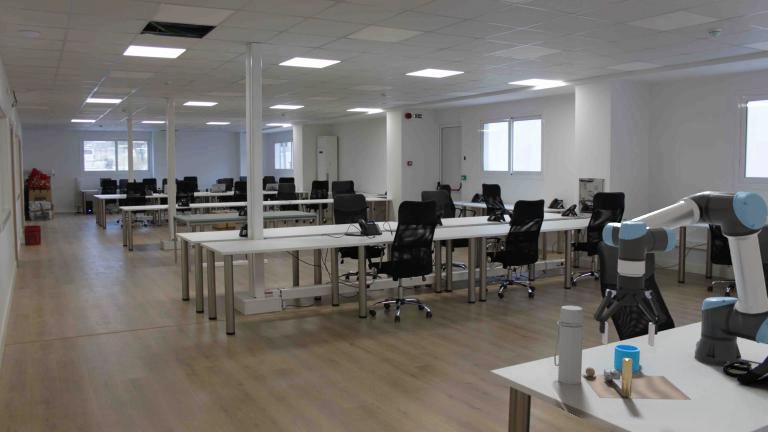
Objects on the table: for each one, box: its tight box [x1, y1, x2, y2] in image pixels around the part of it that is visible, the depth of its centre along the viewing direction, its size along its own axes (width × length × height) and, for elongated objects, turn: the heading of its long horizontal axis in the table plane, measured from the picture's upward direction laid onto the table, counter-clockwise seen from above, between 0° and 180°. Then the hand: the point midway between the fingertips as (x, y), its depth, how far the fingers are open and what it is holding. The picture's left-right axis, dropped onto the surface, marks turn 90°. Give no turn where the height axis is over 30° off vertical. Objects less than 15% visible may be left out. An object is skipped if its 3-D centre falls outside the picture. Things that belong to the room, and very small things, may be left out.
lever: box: [603, 358, 633, 397], centre depth 200 cm, size 20×4×11 cm, turn 178°
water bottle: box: [553, 305, 584, 385], centre depth 207 cm, size 9×8×25 cm
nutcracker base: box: [581, 366, 691, 401], centre depth 202 cm, size 27×21×4 cm
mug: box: [613, 344, 641, 373], centre depth 221 cm, size 12×8×8 cm
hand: (627, 344), depth 191 cm, fingers open, 13 cm apart
